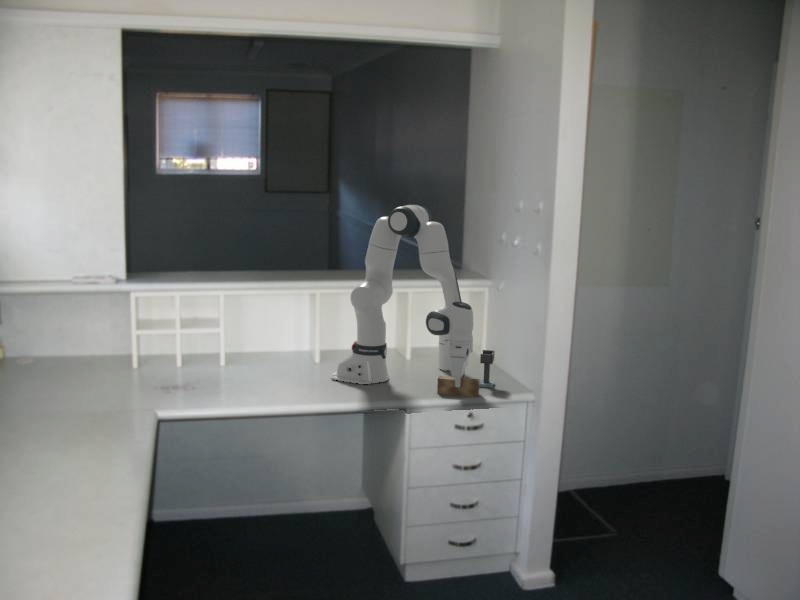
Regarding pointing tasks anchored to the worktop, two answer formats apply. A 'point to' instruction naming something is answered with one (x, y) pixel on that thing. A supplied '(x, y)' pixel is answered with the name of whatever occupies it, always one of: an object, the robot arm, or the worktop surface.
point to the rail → (466, 389)
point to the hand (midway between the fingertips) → (459, 383)
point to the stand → (487, 368)
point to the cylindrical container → (444, 352)
